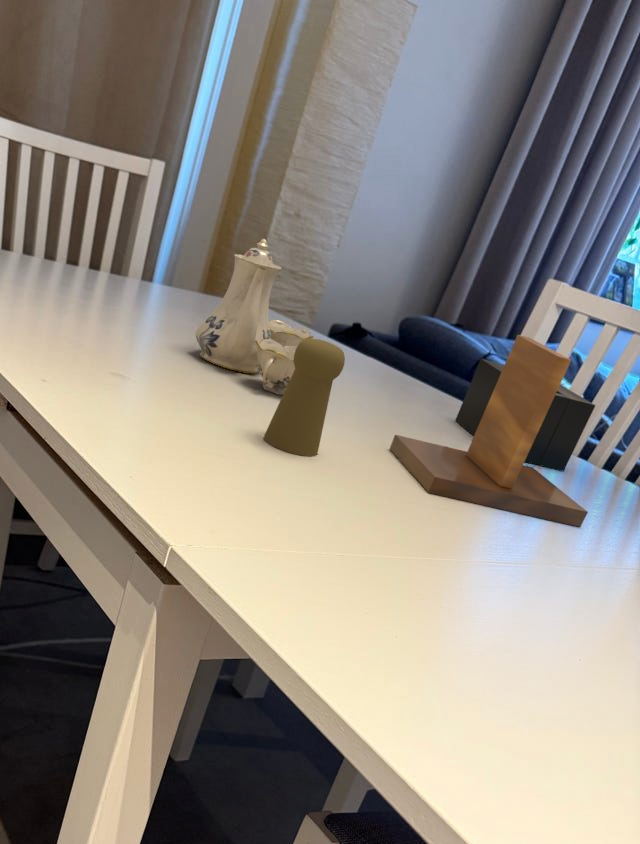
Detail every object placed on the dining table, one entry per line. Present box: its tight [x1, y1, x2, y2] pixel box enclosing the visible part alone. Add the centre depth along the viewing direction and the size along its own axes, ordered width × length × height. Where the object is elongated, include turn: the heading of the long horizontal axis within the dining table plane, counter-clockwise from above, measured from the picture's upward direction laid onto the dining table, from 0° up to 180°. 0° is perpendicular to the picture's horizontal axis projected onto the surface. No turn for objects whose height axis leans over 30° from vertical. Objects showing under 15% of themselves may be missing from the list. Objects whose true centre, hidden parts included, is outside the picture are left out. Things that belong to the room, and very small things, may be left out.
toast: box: [466, 334, 572, 489], centre depth 100 cm, size 2×10×14 cm, turn 5°
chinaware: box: [195, 238, 314, 396], centre depth 124 cm, size 28×17×17 cm, turn 179°
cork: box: [263, 338, 346, 457], centre depth 96 cm, size 6×6×11 cm
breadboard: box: [389, 434, 589, 528], centre depth 104 cm, size 18×14×2 cm
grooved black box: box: [454, 358, 596, 472], centre depth 125 cm, size 11×15×9 cm
